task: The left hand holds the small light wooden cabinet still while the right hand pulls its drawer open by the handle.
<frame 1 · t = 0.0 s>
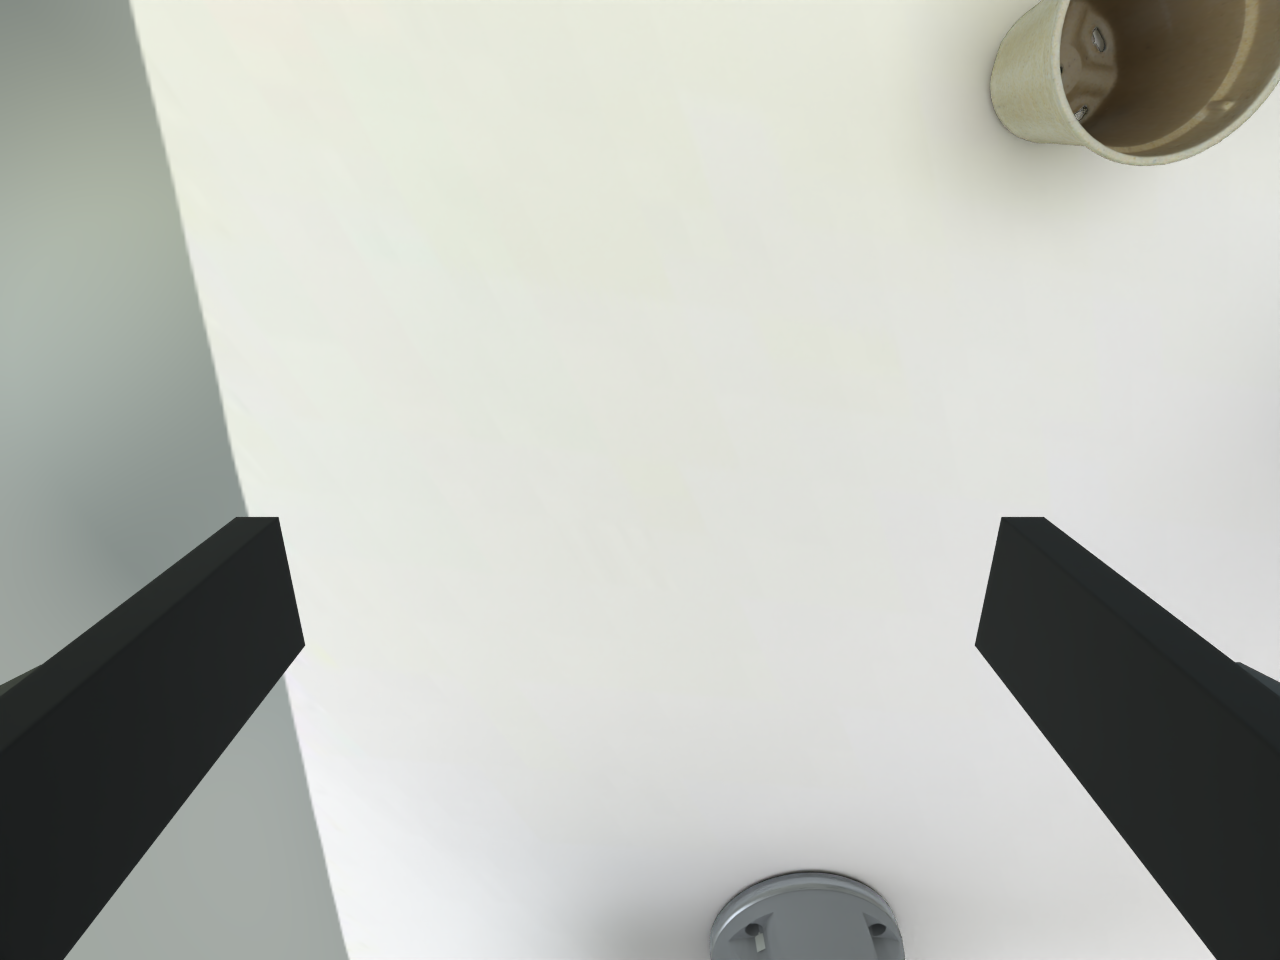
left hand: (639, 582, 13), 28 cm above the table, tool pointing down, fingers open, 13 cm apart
flower pot: (1050, 72, 34), on the table
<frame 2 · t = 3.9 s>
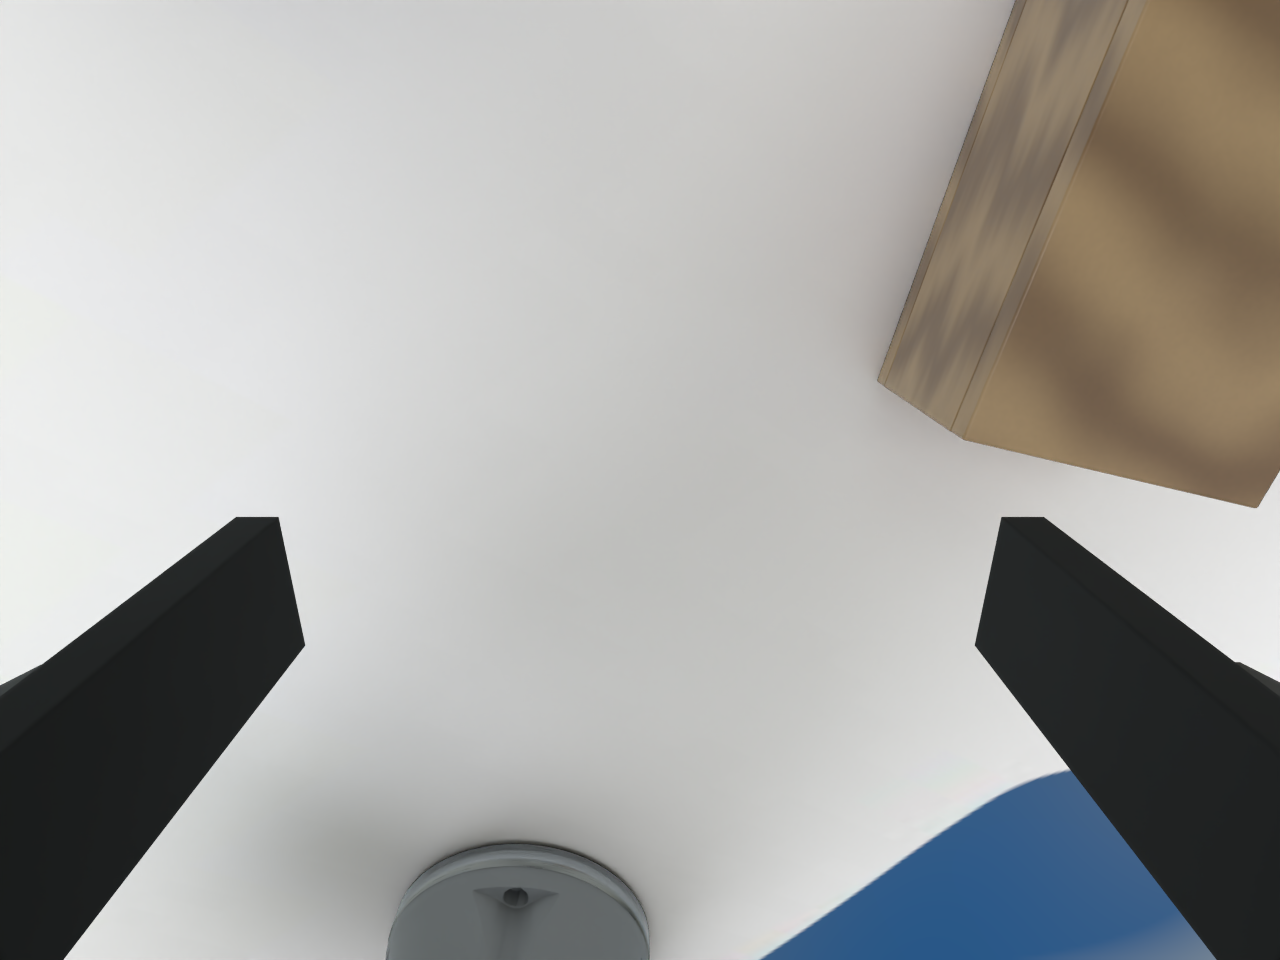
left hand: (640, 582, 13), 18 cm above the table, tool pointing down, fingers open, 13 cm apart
cabinet: (1071, 217, 28), on the table
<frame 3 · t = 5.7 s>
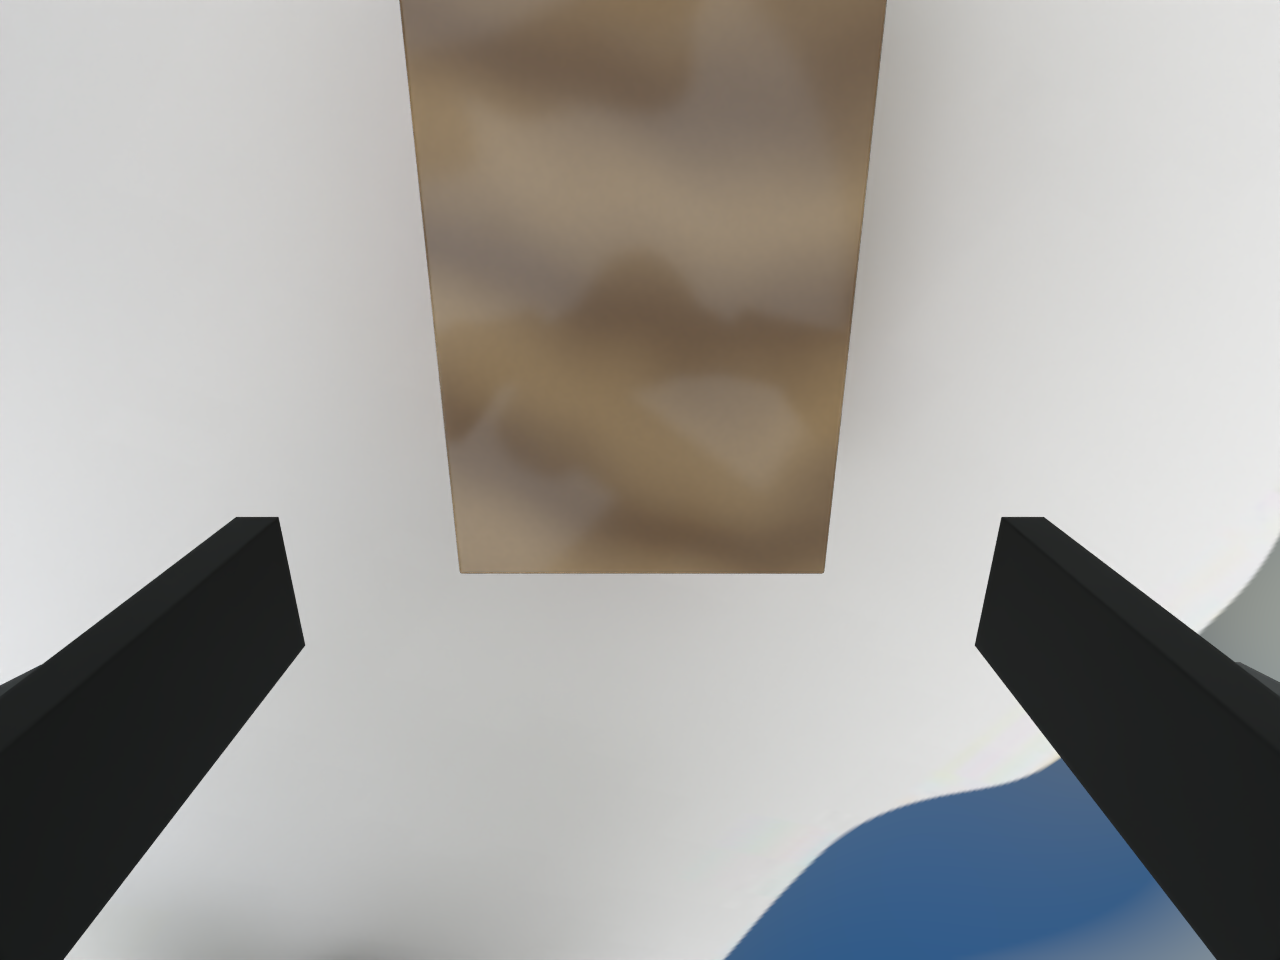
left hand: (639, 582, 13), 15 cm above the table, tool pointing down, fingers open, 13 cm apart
cabinet: (641, 261, 25), on the table
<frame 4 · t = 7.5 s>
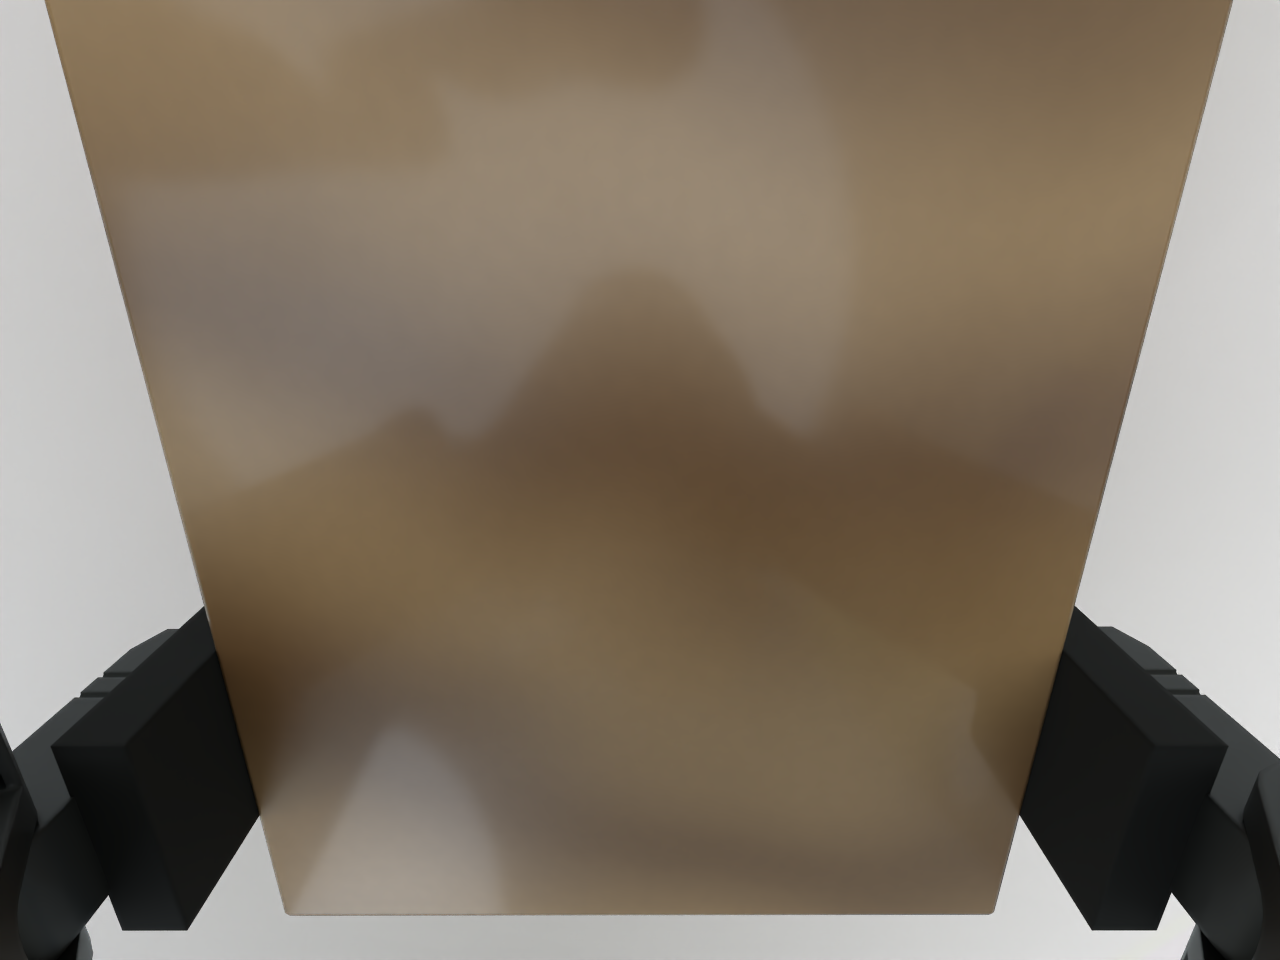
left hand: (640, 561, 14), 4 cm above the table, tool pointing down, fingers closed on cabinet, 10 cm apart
cabinet: (639, 293, 15), on the table, touching left hand
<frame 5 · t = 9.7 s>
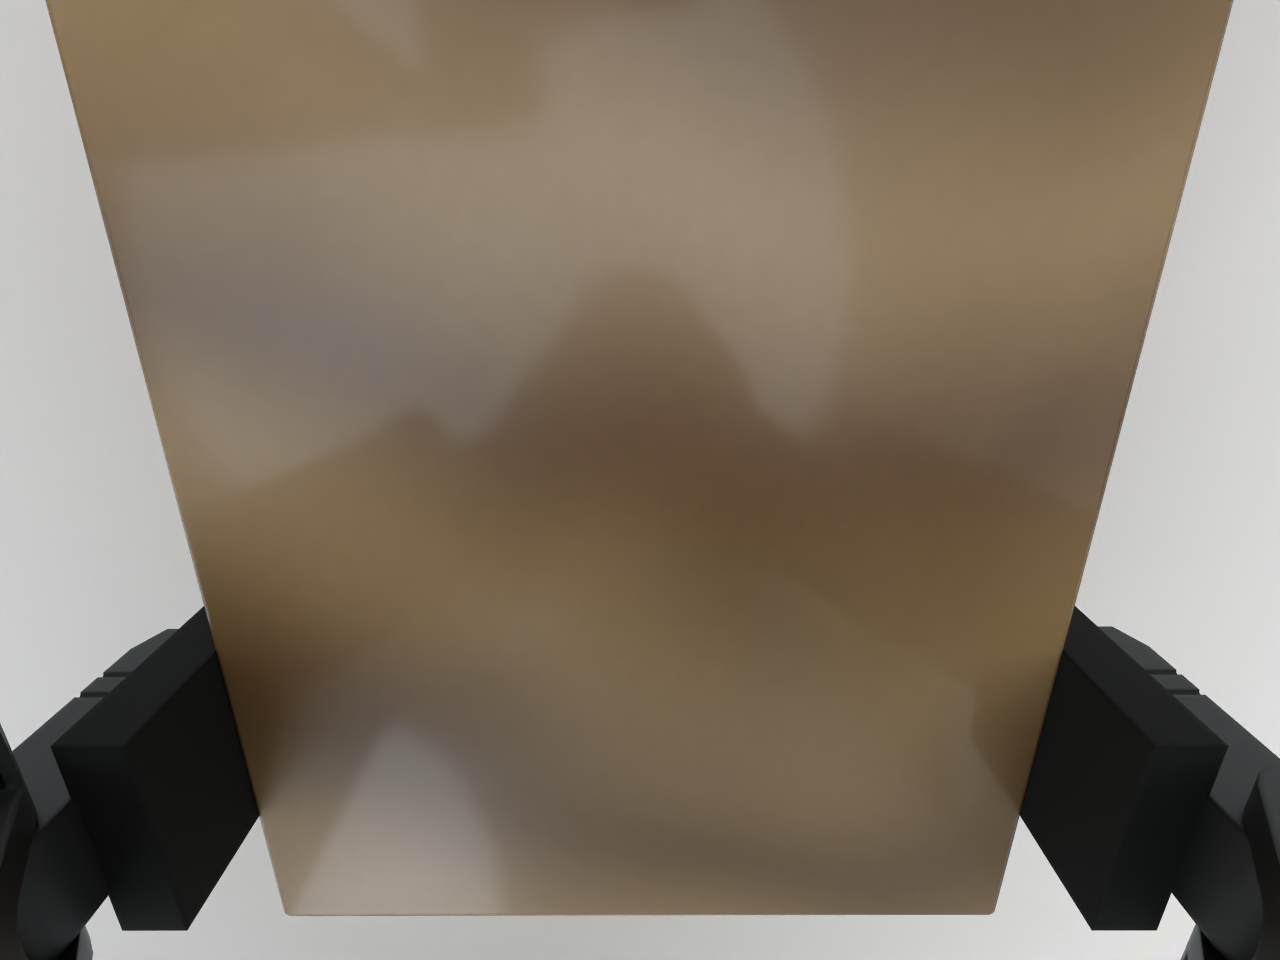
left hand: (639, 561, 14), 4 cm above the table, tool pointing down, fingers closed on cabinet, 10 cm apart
cabinet: (639, 293, 15), on the table, touching left hand
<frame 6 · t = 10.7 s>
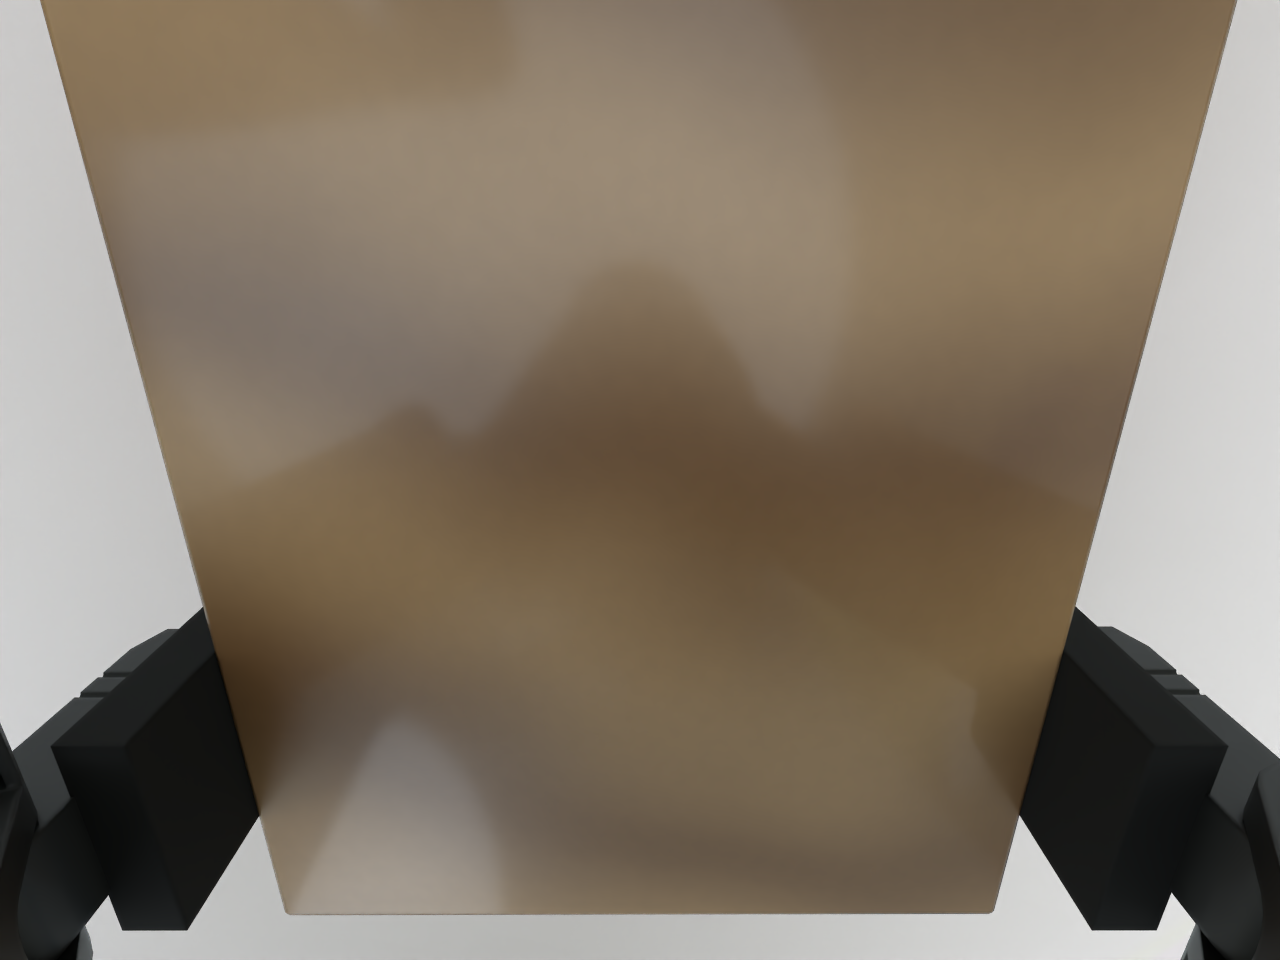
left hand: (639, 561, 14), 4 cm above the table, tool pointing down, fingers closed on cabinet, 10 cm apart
cabinet: (639, 291, 15), on the table, touching left hand
when the left hand's fingers open (4 cm above the table, at t = 12.1 s): cabinet stays where it is, on the table.
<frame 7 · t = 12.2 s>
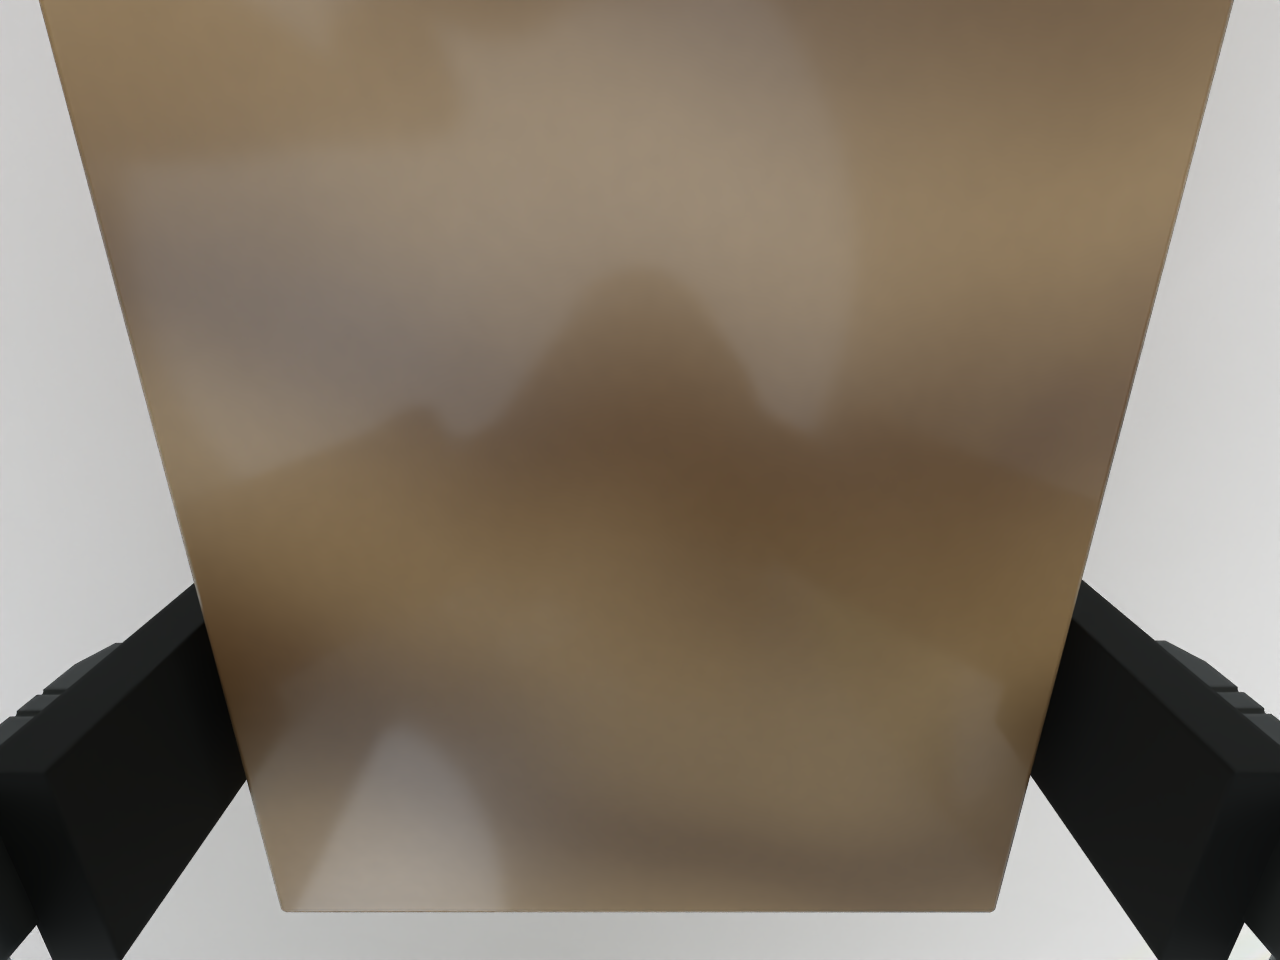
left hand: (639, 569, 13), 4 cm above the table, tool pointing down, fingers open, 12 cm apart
cabinet: (638, 288, 15), on the table
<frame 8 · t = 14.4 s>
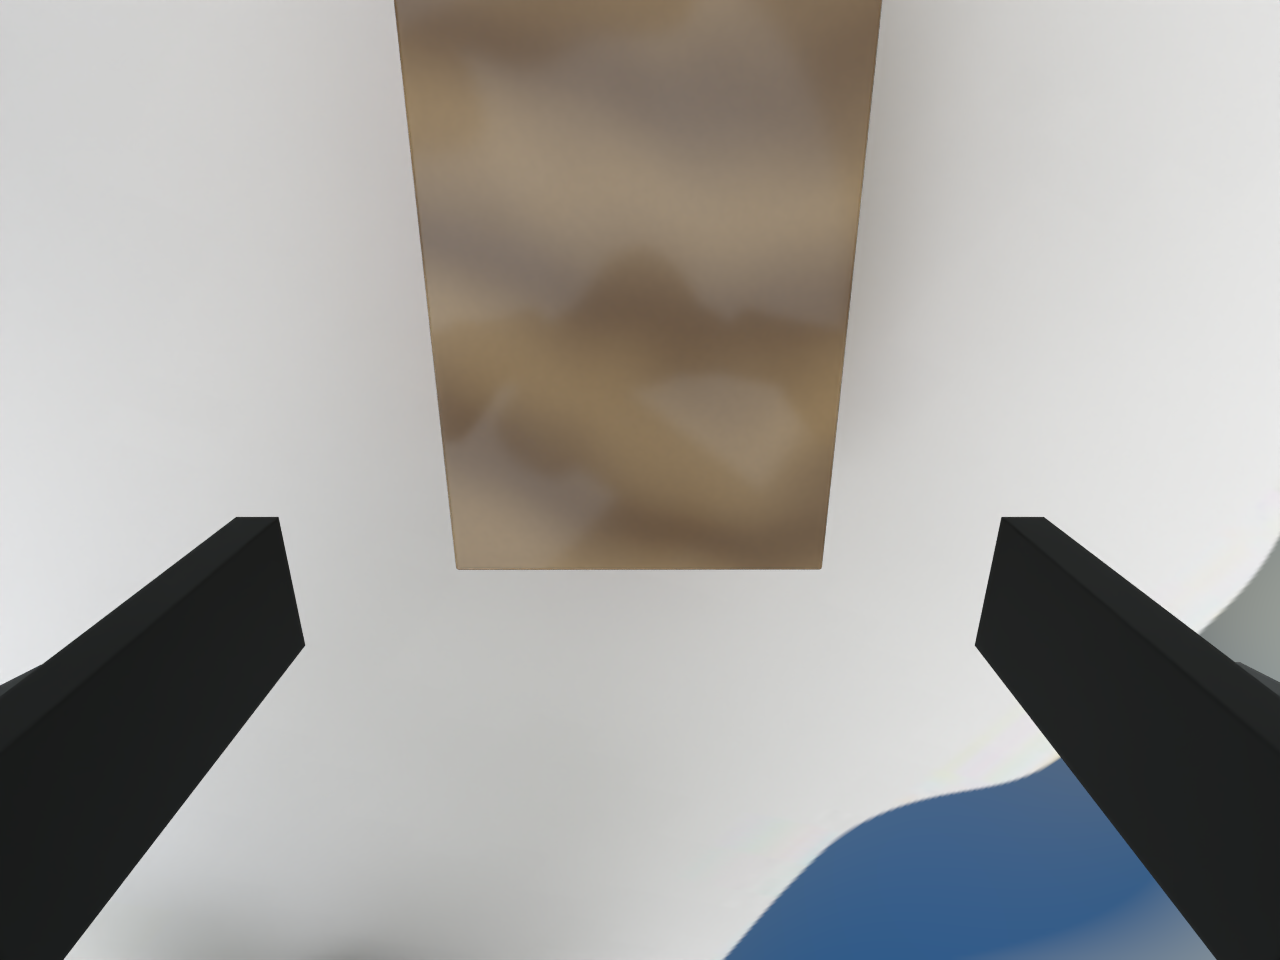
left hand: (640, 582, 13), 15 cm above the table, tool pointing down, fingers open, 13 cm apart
cabinet: (638, 257, 25), on the table
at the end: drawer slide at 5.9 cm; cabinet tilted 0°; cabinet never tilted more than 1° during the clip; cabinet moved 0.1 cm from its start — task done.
